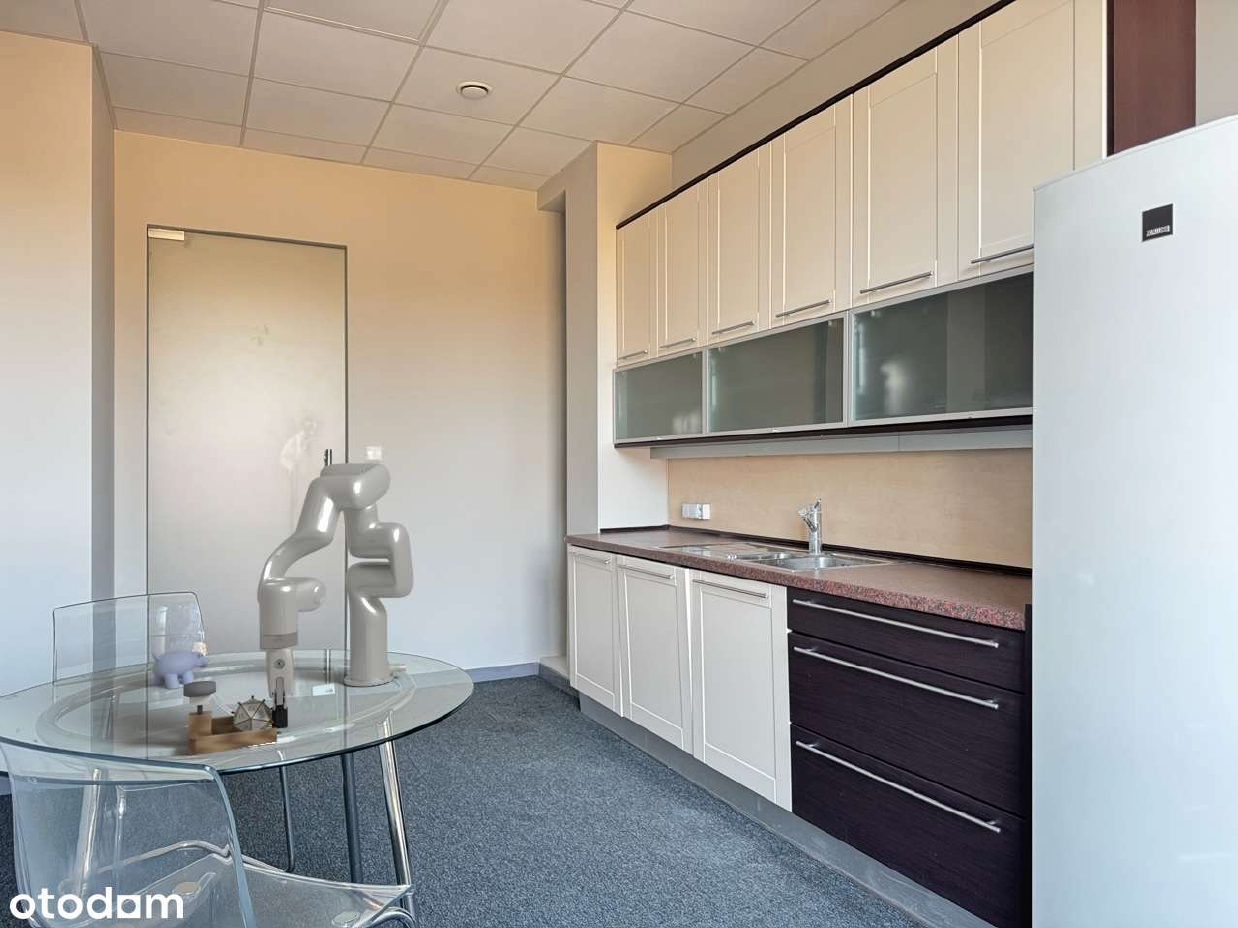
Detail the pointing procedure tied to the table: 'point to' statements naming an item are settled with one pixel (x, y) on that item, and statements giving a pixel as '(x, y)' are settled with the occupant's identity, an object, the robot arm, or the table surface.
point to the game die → (251, 715)
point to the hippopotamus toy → (176, 667)
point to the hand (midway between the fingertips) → (279, 727)
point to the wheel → (199, 692)
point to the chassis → (205, 726)
